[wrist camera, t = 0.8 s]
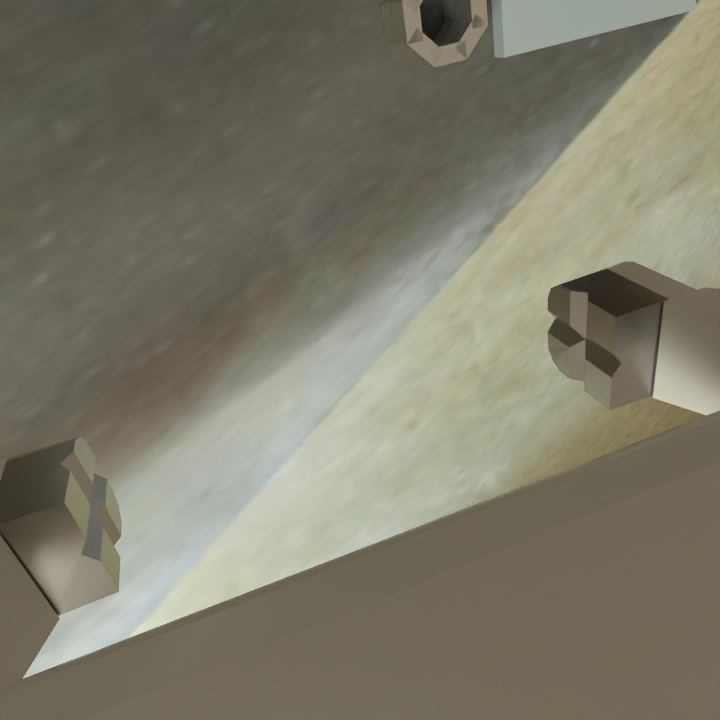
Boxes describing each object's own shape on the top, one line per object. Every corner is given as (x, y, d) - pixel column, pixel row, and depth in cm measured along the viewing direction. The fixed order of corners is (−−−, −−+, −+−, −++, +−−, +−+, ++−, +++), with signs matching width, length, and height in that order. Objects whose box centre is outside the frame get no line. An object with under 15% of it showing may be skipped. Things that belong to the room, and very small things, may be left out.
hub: (374, -25, 42) (397, -31, 38) (453, -42, 43) (483, -50, 39) (388, 70, 45) (410, 73, 41) (461, 52, 46) (489, 53, 42)
